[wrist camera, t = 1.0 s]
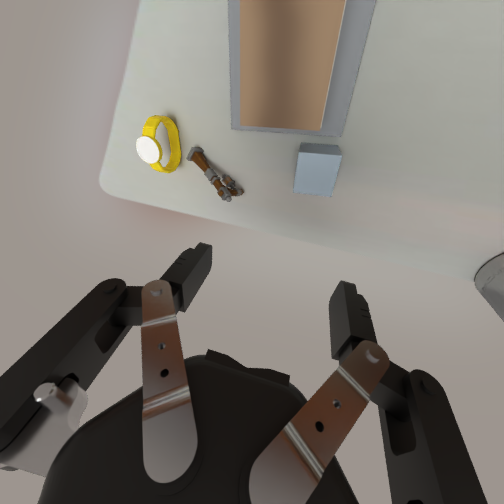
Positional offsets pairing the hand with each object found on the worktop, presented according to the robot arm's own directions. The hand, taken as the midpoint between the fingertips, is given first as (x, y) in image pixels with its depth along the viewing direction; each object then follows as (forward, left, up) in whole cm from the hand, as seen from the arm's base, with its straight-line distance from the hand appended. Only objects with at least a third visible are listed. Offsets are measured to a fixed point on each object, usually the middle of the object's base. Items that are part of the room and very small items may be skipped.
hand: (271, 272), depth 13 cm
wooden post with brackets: (+10, -1, -18) cm, 21 cm away
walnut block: (+2, -11, -17) cm, 20 cm away
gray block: (-2, -2, -18) cm, 18 cm away
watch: (+16, -3, -18) cm, 24 cm away
